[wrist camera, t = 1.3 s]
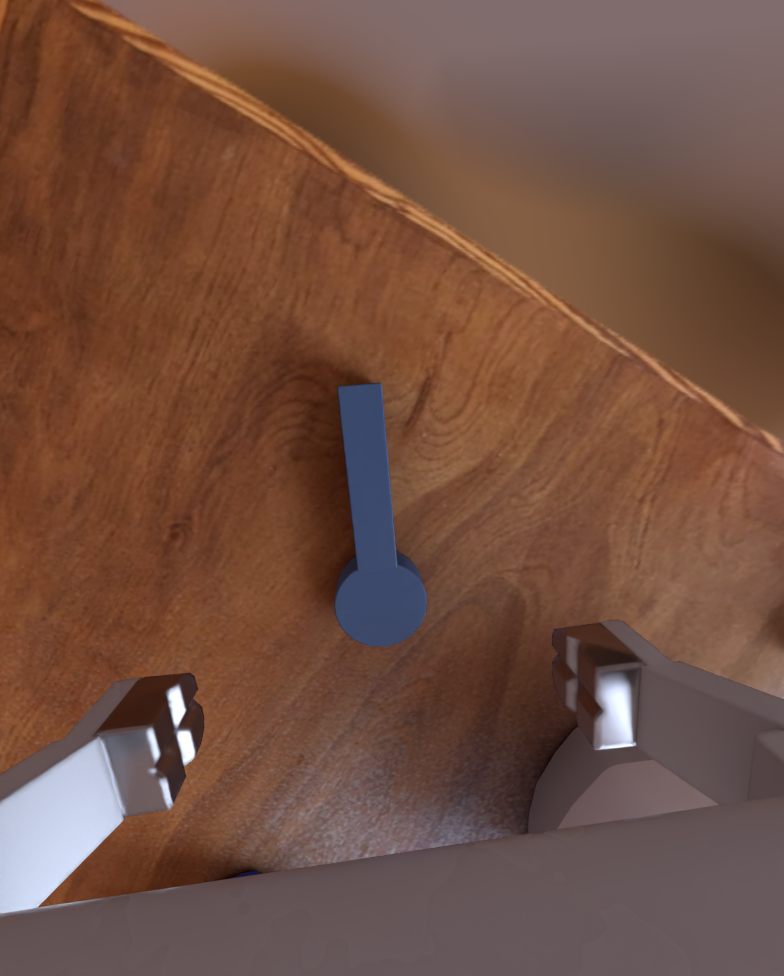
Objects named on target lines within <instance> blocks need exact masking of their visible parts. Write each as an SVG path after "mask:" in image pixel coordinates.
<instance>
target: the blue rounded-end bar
mask: <svg viewBox="0 0 784 976" xmlns="http://www.w3.org/2000/svg"><path fill="white" fill-rule="evenodd" d="M337 391H338V399H339V408H340V417H341V426H342V435H343V444H344V453H345V462H346V471H347V480H348V489H349V498H350V507H351V516H352V525H353V534H354V543H355V552H356V556H355V557H354V558H352V559H351V560H350V561H349V562H348V563H347V564H346V565H345V567H344V568H343V569H342V571H341V573H340V575H339V578H338V582H337V588H336V595H335V604H334V605H335V614H336V617H337V620H338V622H339V624H340V626H341V627H342V629H343V630H344V631H345V632H346V633H347V634H348V635H349V636H350V637H351V638H353V639H354V640H356V641H358V642H360V643H362V644H365V645H369V646H379V647H380V646H389V645H393V644H396V643H399V642H401V641H403V640H405V639H407V638H408V637H409V636H411V635H412V634H413V633H414V632H415V631H416V630H417V629H418V627H419V626H420V624H421V623H422V621H423V619H424V617H425V613H426V609H427V595H426V591H425V588H424V585H423V582H422V579H421V576H420V574H419V571H418V569H417V568H416V566H415V565H414V564H413V562H412V561H411V560H409V559H408V558H407V557H406V556H404V555H403V554H401V553H399V552H396V544H395V532H394V521H393V509H392V498H391V486H390V475H389V463H388V452H387V441H386V429H385V418H384V406H383V395H382V384H381V383H370V384H358V385H347V386H338V387H337Z"/></svg>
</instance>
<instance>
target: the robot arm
mask: <svg viewBox="0 0 784 976" xmlns="http://www.w3.org/2000/svg"><path fill="white" fill-rule="evenodd" d="M552 646H553V647H554V648H555V650H556V651H557V652H558V655H557V656H556V657H555V659H554V660H553V662H552V676H553V680H554V684H555V688H556V691H557V693H558V695H559V697H560V699H561V701H562V702H563V704H564V705H565V707H566V708H568V709H570V710H571V711H573V712H575V713H577V725H578V726H579V728H580V729H581V731H582V732H583V734H584V735H585V737H586V738H587V739H588V741H589V742H590V744H591V745H592V747H593V748H594V750H601V749H610V748H619V747H629V746H636V748H637V749H639V750H640V751H642V752H643V753H644V754H646V755H647V756H649V757H650V758H652V759H653V760H655V761H656V762H658V763H659V764H660V765H662V766H663V767H665V768H666V769H668V770H669V771H671V772H672V773H674V774H675V775H676V776H678V777H679V778H681V779H682V780H684V781H685V782H687V783H688V784H690V785H691V786H693V787H694V788H695V789H697V790H698V791H700V792H701V793H703V794H704V795H706V796H707V797H709V798H710V799H711V800H713V801H714V802H716V803H717V804H719V805H715V806H709V807H702V808H696V809H689V810H683V811H676V812H670V813H663V814H657V815H650V816H644V817H637V818H631V819H624V820H617V821H611V822H604V823H597V824H590V825H584V826H577V827H570V828H563V829H557V830H550V831H543V832H537V833H530V834H523V835H516V836H510V837H503V838H496V839H489V840H483V841H476V842H469V843H462V844H456V845H449V846H443V847H436V848H429V849H423V850H416V851H410V852H403V853H396V854H390V855H383V856H376V857H370V858H363V859H357V860H350V861H343V862H337V863H330V864H324V865H317V866H310V867H304V868H297V869H291V870H284V871H277V872H271V873H264V874H258V875H251V876H244V877H238V878H231V879H224V880H218V881H211V882H204V883H198V884H191V885H185V886H178V887H171V888H165V889H158V890H151V891H145V892H138V893H131V894H125V895H118V896H112V897H105V898H98V899H92V900H85V901H78V902H72V903H65V904H59V905H52V906H45V907H39V908H37V907H38V906H39V905H40V904H41V903H42V902H43V901H44V900H45V899H46V898H47V897H48V896H49V895H50V894H51V893H52V892H53V891H54V890H55V889H56V888H57V887H58V886H59V885H60V884H61V883H62V882H63V881H64V880H65V879H66V878H67V877H68V876H69V875H70V874H71V873H72V872H73V871H74V870H75V869H76V868H77V867H78V866H79V865H80V864H81V863H82V862H83V861H84V860H85V859H86V858H87V857H88V856H89V855H90V854H91V853H92V852H93V851H94V850H95V849H96V848H97V847H98V846H99V845H100V844H101V843H102V842H103V841H104V840H105V838H106V837H107V836H108V835H109V834H110V833H111V832H112V831H113V830H114V829H115V828H116V827H117V826H118V825H119V824H120V823H121V822H122V821H123V820H124V819H123V817H129V816H135V815H141V814H147V813H152V812H158V811H164V810H170V809H171V808H172V805H173V803H174V801H175V799H176V797H177V795H178V793H179V791H180V789H181V786H182V784H183V782H184V780H185V778H186V773H185V769H184V766H185V765H186V764H188V763H189V762H190V761H191V760H192V759H193V758H194V757H196V754H197V752H198V750H199V748H200V745H201V742H202V737H203V732H204V714H203V709H202V706H201V705H199V704H198V703H197V702H196V701H195V700H194V699H193V697H194V696H195V694H196V692H197V690H198V687H197V683H196V679H195V676H194V675H192V674H191V673H181V674H171V675H161V676H151V677H144V678H133V679H125V680H120V681H117V682H115V683H113V684H112V685H111V686H110V688H109V689H108V690H107V691H106V692H105V693H104V694H103V695H102V696H101V698H100V699H99V700H98V701H97V702H96V703H95V704H94V705H93V707H92V708H91V709H90V710H89V711H88V712H87V713H86V714H85V715H84V717H83V718H82V719H81V720H80V721H79V722H78V723H77V724H76V726H75V727H74V728H73V729H72V730H71V731H70V732H69V733H68V734H67V736H66V737H65V738H64V739H63V740H62V741H56V742H52V743H51V744H49V745H47V746H46V747H44V748H43V749H41V750H39V751H38V752H36V753H34V754H33V755H31V756H29V757H28V758H26V759H24V760H23V761H21V762H20V763H18V764H16V765H15V766H13V767H11V768H10V769H8V770H6V771H5V772H3V773H1V774H0V976H784V699H781V698H778V697H775V696H773V695H770V694H767V693H765V692H762V691H759V690H756V689H754V688H751V687H748V686H746V685H743V684H740V683H737V682H735V681H732V680H729V679H727V678H724V677H721V676H718V675H716V674H713V673H710V672H708V671H705V670H702V669H699V668H697V667H694V666H691V665H689V664H686V663H683V662H680V661H679V662H672V661H671V660H670V659H668V658H667V657H666V656H665V655H664V654H662V653H661V652H660V651H659V650H658V649H656V648H655V647H654V646H653V645H652V644H650V643H649V642H648V641H647V640H645V639H644V638H643V637H642V636H641V635H639V634H638V633H637V632H636V631H635V630H633V629H632V628H631V627H630V626H629V625H627V624H626V623H625V622H624V621H621V620H618V619H617V620H611V621H604V622H598V623H594V624H587V625H580V626H573V627H565V628H558V629H554V632H553V635H552Z"/></svg>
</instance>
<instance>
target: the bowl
mask: <svg viewBox="0 0 784 976" xmlns="http://www.w3.org/2000/svg"><path fill="white" fill-rule="evenodd" d="M715 805H719V804H717V803H716V802H714V801H713V800H711V799H710V798H709V797H707V796H706V795H704V794H703V793H701V792H700V791H698V790H697V789H695V788H694V787H693V786H691V785H690V784H688V783H687V782H685V781H684V780H682V779H681V778H679V777H678V776H676V775H675V774H674V773H672V772H671V771H669V770H668V769H666V768H665V767H663V766H662V765H660V764H659V763H658V762H656V761H655V760H653V759H652V758H650V757H649V756H647V755H646V754H644V753H643V752H642V751H640V750H639V749H637V748H636V746H629V747H619V748H610V749H601V750H594V748H593V747H592V745H591V744H590V742H589V741H588V739H587V738H586V737H585V735H584V734H583V732H582V731H581V729H580V728H579V726H578V727H577V728H576V729H574V730H573V731H572V733H571V734H570V735H569V736H568V738H567V739H566V740H565V741H564V742H563V744H562V745H561V746H560V747H559V749H558V750H557V751H556V752H555V754H554V755H553V757H552V759H551V760H550V762H549V764H548V765H547V767H546V768H545V770H544V772H543V773H542V775H541V777H540V778H539V780H538V782H537V784H536V788H535V792H534V796H533V800H532V804H531V807H530V811H529V821H528V834H530V833H537V832H543V831H550V830H557V829H563V828H570V827H577V826H584V825H590V824H597V823H604V822H611V821H617V820H624V819H631V818H637V817H644V816H650V815H657V814H663V813H670V812H676V811H683V810H689V809H696V808H702V807H709V806H715Z"/></svg>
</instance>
